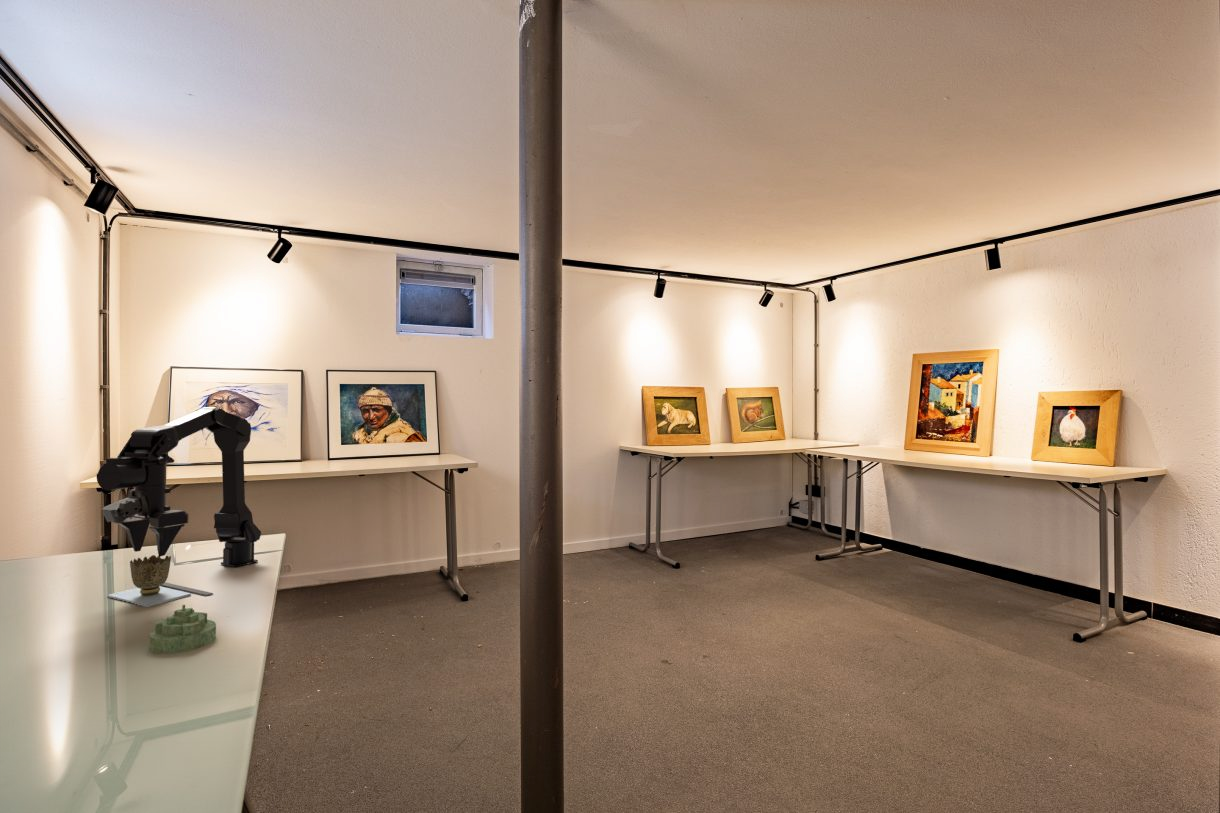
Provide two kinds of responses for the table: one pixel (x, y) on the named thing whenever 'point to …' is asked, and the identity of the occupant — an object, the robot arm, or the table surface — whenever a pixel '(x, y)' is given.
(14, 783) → the table surface
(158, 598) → the board
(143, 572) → the cup
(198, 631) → the decorative artifact
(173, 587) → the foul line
